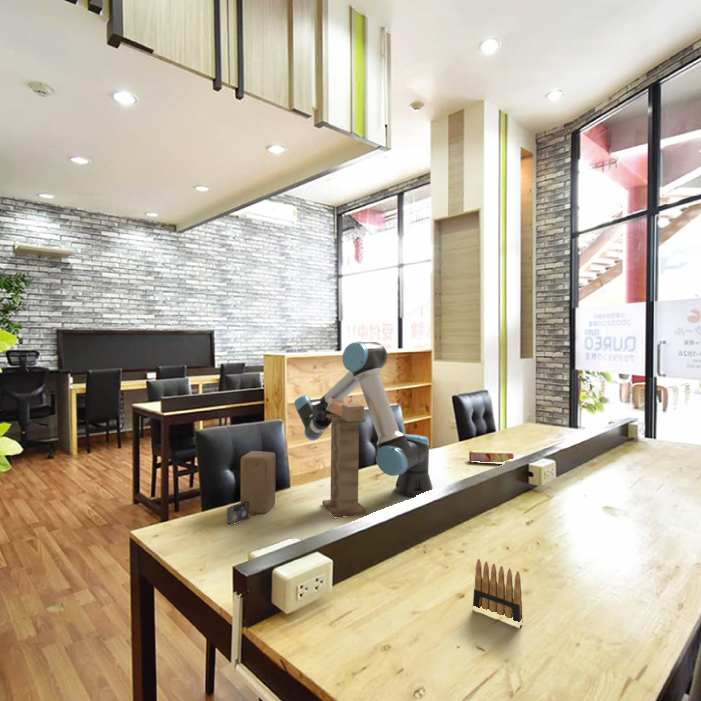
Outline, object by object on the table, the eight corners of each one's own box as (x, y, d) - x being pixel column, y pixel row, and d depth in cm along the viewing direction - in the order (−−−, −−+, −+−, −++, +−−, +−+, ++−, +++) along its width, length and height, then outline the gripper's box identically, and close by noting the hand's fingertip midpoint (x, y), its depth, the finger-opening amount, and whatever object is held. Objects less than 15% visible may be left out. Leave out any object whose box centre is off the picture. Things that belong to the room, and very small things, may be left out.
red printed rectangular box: (469, 464, 231) (470, 450, 231) (468, 460, 237) (469, 447, 237) (513, 466, 227) (514, 453, 227) (511, 463, 233) (511, 450, 233)
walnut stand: (322, 504, 171) (323, 414, 170) (352, 500, 175) (353, 412, 175) (334, 518, 158) (335, 420, 157) (366, 514, 162) (367, 418, 162)
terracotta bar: (322, 409, 181) (323, 396, 181) (337, 408, 183) (337, 396, 183) (347, 421, 155) (347, 406, 155) (364, 420, 157) (364, 406, 157)
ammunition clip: (472, 610, 105) (473, 559, 104) (475, 607, 106) (476, 556, 106) (519, 629, 98) (521, 574, 98) (522, 625, 100) (523, 570, 99)
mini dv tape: (245, 517, 158) (245, 500, 158) (248, 518, 157) (248, 501, 157) (226, 525, 152) (226, 507, 151) (229, 526, 151) (229, 508, 151)
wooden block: (265, 515, 160) (266, 458, 160) (239, 512, 162) (239, 456, 162) (276, 505, 170) (276, 451, 170) (250, 502, 172) (251, 450, 172)
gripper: (341, 428, 195) (359, 408, 176) (302, 431, 189) (316, 410, 169) (338, 412, 198) (356, 390, 179) (300, 414, 192) (314, 391, 173)
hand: (336, 400), depth 174 cm, fingers closed on terracotta bar, 4 cm apart
